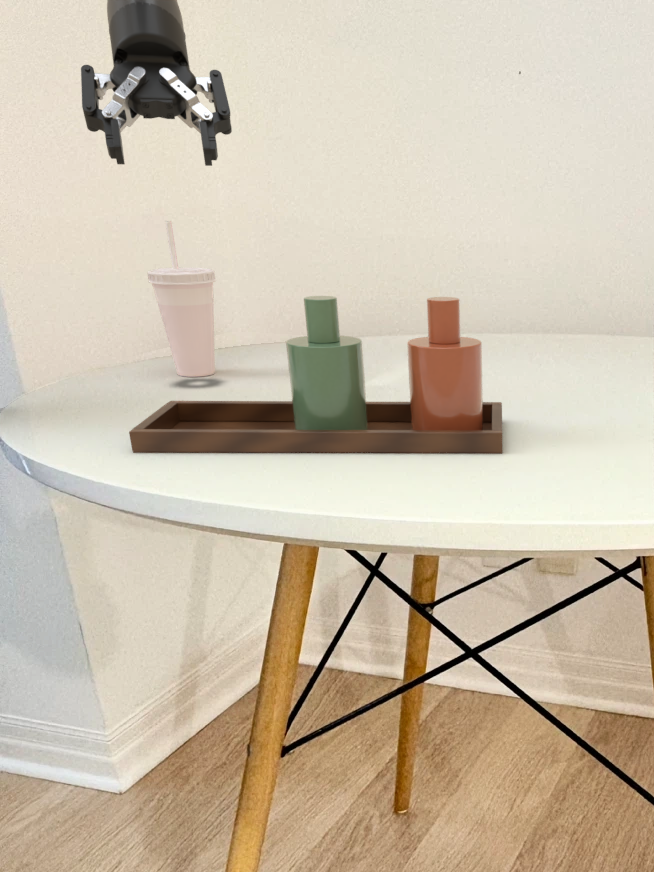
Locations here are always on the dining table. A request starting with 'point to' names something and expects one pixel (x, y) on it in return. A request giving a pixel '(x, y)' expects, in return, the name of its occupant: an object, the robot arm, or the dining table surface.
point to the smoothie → (186, 313)
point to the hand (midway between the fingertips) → (164, 158)
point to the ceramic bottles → (345, 383)
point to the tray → (303, 431)
